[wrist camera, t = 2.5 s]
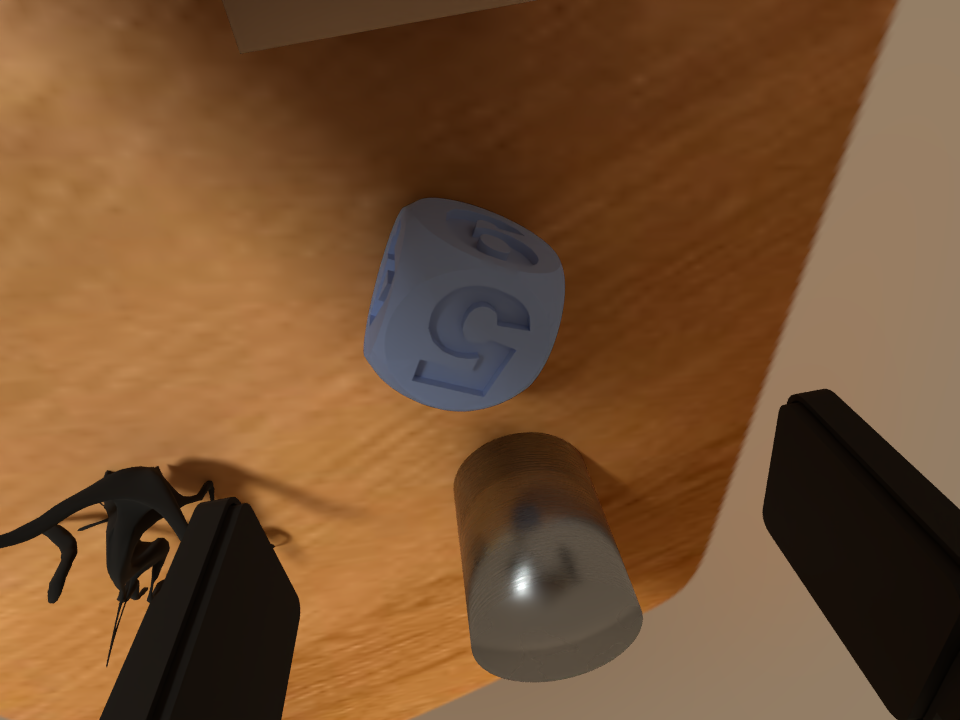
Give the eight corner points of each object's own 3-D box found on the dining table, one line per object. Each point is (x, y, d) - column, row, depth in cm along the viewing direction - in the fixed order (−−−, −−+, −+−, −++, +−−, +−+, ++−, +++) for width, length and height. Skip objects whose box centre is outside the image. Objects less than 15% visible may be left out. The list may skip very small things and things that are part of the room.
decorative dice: (365, 311, 17) (359, 394, 14) (405, 181, 15) (410, 241, 12) (491, 344, 18) (514, 427, 15) (544, 227, 16) (584, 293, 13)
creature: (276, 552, 24) (289, 440, 18) (247, 700, 20) (252, 613, 15) (59, 536, 22) (2, 405, 16) (-17, 696, 18) (-124, 594, 13)
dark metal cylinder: (442, 447, 20) (457, 603, 15) (583, 420, 20) (644, 565, 15) (465, 539, 23) (484, 695, 18) (588, 514, 23) (641, 663, 18)
